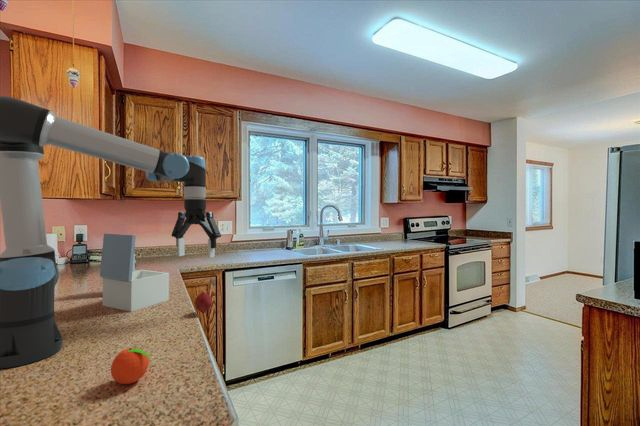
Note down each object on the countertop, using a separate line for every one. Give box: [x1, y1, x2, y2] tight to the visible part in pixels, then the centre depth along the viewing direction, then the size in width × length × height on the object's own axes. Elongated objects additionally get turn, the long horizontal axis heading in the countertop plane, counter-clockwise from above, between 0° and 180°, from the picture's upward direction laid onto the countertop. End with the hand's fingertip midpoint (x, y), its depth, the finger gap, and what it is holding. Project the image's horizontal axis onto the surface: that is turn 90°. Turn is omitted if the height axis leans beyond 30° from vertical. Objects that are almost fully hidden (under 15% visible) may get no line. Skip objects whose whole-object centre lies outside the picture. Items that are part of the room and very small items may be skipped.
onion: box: [194, 290, 213, 314], centre depth 113 cm, size 6×6×8 cm
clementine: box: [110, 347, 152, 385], centre depth 67 cm, size 8×7×7 cm
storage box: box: [102, 269, 170, 312], centre depth 124 cm, size 16×16×11 cm
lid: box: [99, 233, 137, 282], centre depth 117 cm, size 17×16×1 cm
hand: (196, 256), depth 117 cm, fingers open, 13 cm apart
